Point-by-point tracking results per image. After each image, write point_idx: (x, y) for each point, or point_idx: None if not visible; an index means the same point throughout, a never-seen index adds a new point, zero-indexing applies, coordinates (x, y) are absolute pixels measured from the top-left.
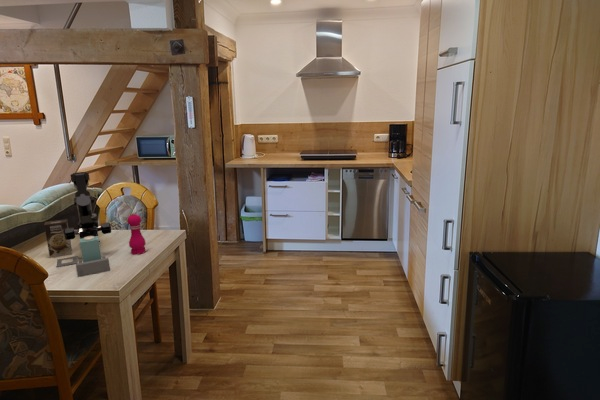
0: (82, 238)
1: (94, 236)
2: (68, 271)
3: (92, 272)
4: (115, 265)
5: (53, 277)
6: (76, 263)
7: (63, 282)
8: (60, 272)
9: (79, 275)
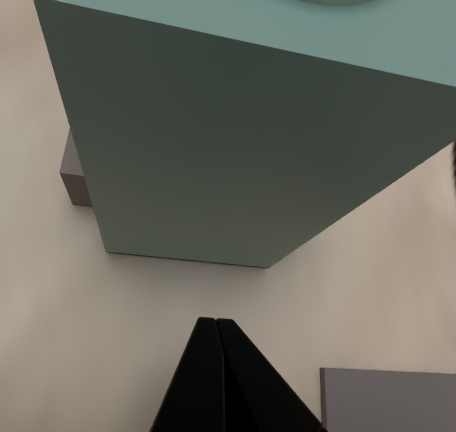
0: (452, 73)
1: (143, 12)
2: (375, 209)
3: None
4: (22, 84)
5: (451, 161)
6: (331, 369)
7: None
8: (427, 228)
9: None
